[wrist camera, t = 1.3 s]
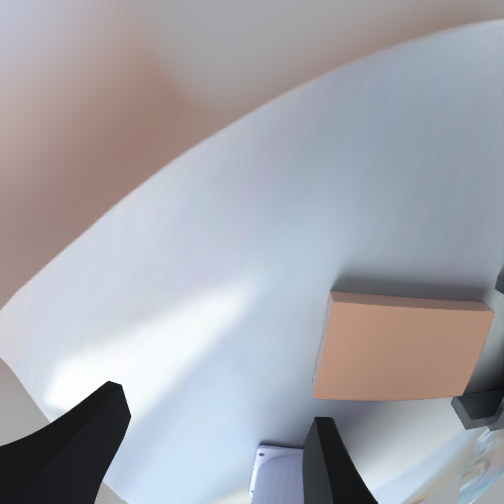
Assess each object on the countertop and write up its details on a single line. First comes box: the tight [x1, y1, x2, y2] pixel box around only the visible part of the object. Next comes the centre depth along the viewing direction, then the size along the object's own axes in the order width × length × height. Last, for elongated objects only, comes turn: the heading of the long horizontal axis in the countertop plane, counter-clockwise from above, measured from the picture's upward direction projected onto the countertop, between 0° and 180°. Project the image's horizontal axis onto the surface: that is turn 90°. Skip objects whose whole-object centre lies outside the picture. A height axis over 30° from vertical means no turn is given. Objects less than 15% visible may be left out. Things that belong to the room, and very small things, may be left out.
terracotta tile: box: [312, 291, 495, 401], centre depth 17 cm, size 7×12×2 cm, turn 85°
